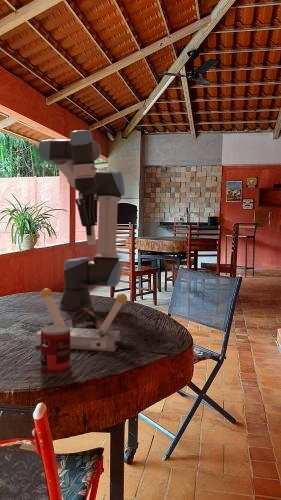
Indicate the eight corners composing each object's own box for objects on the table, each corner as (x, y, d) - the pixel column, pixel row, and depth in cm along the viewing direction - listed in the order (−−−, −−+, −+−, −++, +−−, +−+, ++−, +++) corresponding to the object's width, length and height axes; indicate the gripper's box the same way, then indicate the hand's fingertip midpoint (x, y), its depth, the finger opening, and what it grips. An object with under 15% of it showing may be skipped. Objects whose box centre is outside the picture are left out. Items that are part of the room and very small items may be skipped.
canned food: (43, 362, 108) (43, 324, 107) (71, 361, 109) (71, 324, 108) (38, 373, 101) (38, 332, 100) (68, 372, 101) (68, 332, 100)
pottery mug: (98, 332, 140) (87, 314, 138) (76, 341, 142) (65, 323, 140) (103, 316, 151) (93, 299, 149) (83, 324, 153) (72, 308, 151)
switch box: (47, 337, 131) (47, 326, 131) (137, 343, 126) (138, 332, 125) (35, 346, 121) (35, 334, 121) (132, 353, 116) (132, 340, 116)
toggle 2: (98, 327, 125) (121, 290, 123) (107, 333, 125) (130, 296, 123) (94, 331, 121) (118, 292, 119) (104, 337, 120) (127, 298, 118)
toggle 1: (60, 330, 127) (42, 289, 127) (69, 326, 127) (51, 285, 127) (55, 334, 123) (36, 292, 123) (64, 330, 122) (46, 287, 122)
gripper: (85, 177, 123) (92, 247, 128) (103, 176, 135) (109, 240, 140) (65, 178, 126) (73, 247, 130) (84, 177, 138) (91, 240, 142)
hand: (91, 244), depth 135 cm, fingers closed
